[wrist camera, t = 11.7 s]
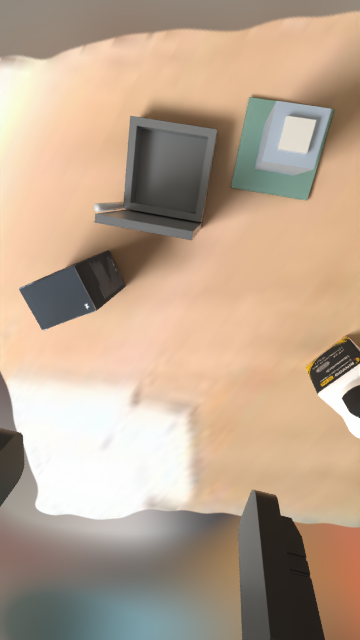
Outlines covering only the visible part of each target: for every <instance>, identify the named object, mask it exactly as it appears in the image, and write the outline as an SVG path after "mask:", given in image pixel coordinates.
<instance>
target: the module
mask: <svg viewBox="0 0 360 640" xmlns="http://www.w3.org/2000/svg"><path fill="white" fill-rule="evenodd" d="M331 110H332V109H330V108H323V107H316V106H310V105H303V104H296V103H289V102H282V101H276V103H275V105H274V107H273V108H272V110H271V112H270V114H269V116H268V118H267V120H266V122H265V124H264V128H263V132H262V137H261V141H260V146H259V150H258V154H257V159H256V163H255V168H254V169H256V170H262V171H268V172H274V173H280V174H286V175H292V176H294V175H297V174H300V173H304V172H307V171H310V170H314V167H315V163H316V160H317V156H318V153H319V150H320V146H321V143H322V140H323V136H324V133H325V130H326V126H327V123H328V120H329V116H330V113H331Z"/></svg>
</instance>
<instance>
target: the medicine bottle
mask: <svg viewBox="0 0 360 640" xmlns="http://www.w3.org/2000/svg"><path fill="white" fill-rule="evenodd" d="M306 369H307V372H308V374H309V376H310V378H311V380H312V383H313V385H314V387H315V389H316V391H317V394H318V395H319V397H321V398H322V399H323V400H324V401H325V402H326V403H327V404H328V405H330V406H331V407H332V408H333V409H334V410H335V411H336V412H337V413H339V414H340V415H341V416H342V417H343V419H344V421H345V423H346V424H347V426H348V428H349V430H350V431H351V433H352V434H353V435H355V436H356V437H358V438H360V347H358V346H357V345H356V344H355V343H354V342H353V341H352V340H351V339H350V338H349V337H347V336H345V337H343V338H342V339H341V340H339V341H338V342H337V343H336V344H334V345H333V346H332V347H330V348H329V349H328V350H326V351H325V352H324V353H322V354H321V355H320V356H318V357H317V358H316V359H314V360H313V361H312V362H311V363H309V364H308V365H307V366H306Z"/></svg>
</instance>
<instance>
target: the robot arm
mask: <svg viewBox="0 0 360 640" xmlns="http://www.w3.org/2000/svg"><path fill="white" fill-rule="evenodd" d="M23 469H24V448H23V435H22V434H21V433H19V432H14V431H10V430H6V429H2V428H0V506H1V505H2V503H3V502H4V501H5V499H6V498H7V497H8V495H9V494H10V492H11V491H12V489H13V488H14V487H15V485H16V484H17V483H18V481H19V479H20V477H21V475H22V472H23ZM238 542H239V566H240V592H241V617H242V640H325V638H324V633H323V629H322V624H321V620H320V616H319V611H318V607H317V602H316V598H315V594H314V589H313V585H312V580H311V578H310V571H309V567H308V563H307V561H306V554H305V549H304V544H303V540H302V536H301V535H300V533H299V531H298V529H297V527H296V526H295V524H294V522H293V520H292V518H289V517H285V516H281V515H280V510H279V504H278V499H277V497H276V495H273V494H269V493H265V492H261V491H256V490H252V491H251V493H250V496H249V498H248V501H247V504H246V506H245V509H244V512H243V514H242V517H241V521H240V526H239V537H238Z"/></svg>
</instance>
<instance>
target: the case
mask: <svg viewBox="0 0 360 640" xmlns="http://www.w3.org/2000/svg"><path fill="white" fill-rule="evenodd" d="M217 135H218V132H217V129H212V128H205V127H199V126H192V125H186V124H180V123H173V122H167V121H160V120H154V119H147V118H141V117H135V116H130V127H129V140H128V153H127V166H126V179H125V192H124V202H114V203H97V204H95V205H94V209H95V211H97V212H101V211H109V210H117V209H127V210H120V211H113V212H106V213H98V214H95V223H100V224H106V225H111V226H117V227H122V228H128V229H133V230H139V231H144V232H150V233H155V234H161V235H166V236H172V237H177V238H182V239H188V240H192V239H193V238H194V237H195V235H196V234H197V233H198V232H199V230H200V229H201V226H202V222H201V221H202V220H203V214H204V209H205V203H206V197H207V192H208V186H209V181H210V175H211V169H212V164H213V158H214V152H215V147H216V141H217Z"/></svg>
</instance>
